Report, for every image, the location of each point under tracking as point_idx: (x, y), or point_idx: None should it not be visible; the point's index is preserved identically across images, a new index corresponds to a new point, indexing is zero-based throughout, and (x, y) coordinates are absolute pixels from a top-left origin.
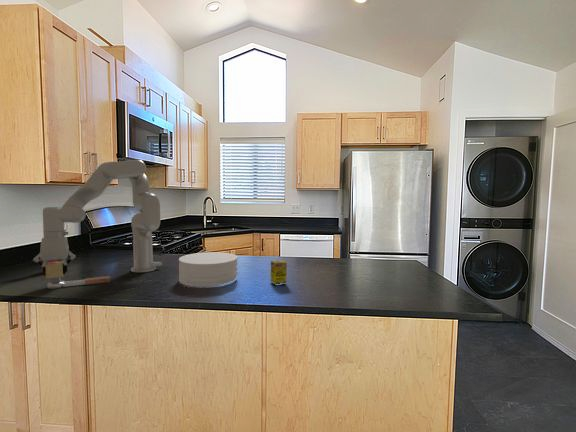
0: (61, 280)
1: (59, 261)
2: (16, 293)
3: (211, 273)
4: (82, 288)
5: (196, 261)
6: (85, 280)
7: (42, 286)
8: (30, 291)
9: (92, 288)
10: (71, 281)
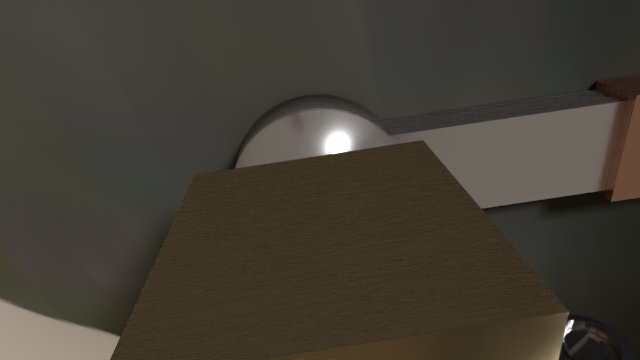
0: (359, 122)
1: (435, 357)
2: (38, 291)
3: None
4: (546, 280)
5: None
6: (617, 199)
7: (155, 114)
8: (132, 263)
9: (615, 297)
10: (472, 161)
